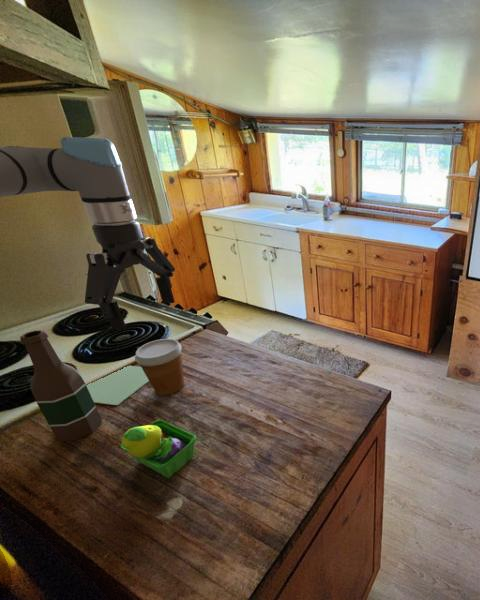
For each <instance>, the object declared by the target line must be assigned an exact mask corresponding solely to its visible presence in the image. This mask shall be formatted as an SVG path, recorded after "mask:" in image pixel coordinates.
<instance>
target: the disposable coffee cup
mask: <svg viewBox="0 0 480 600" xmlns="http://www.w3.org/2000/svg"><path fill="white" fill-rule="evenodd" d="M182 351H183V346H182V344H181V343H179V341H178V340H177V339H174V338H161V339H155V340H152V341H149V342H147V343H145V344H143V345H141V346H139V347H138V348H137V350H136V351H135V356H134V361H135V363H137V364H138V365H139V367H141V368H142V369H143V371H144V373H145V374H146V376H147V378H148V380H149V383H150V384H151V387H152V389H153V390H154V393H155V394H156V395H158V396H168V395H172V394H175V393H176V392H178V391H180V390H181V389H183V388H184V386H185V377H184V368H183V367H184V366H183V358H182Z"/></svg>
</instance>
